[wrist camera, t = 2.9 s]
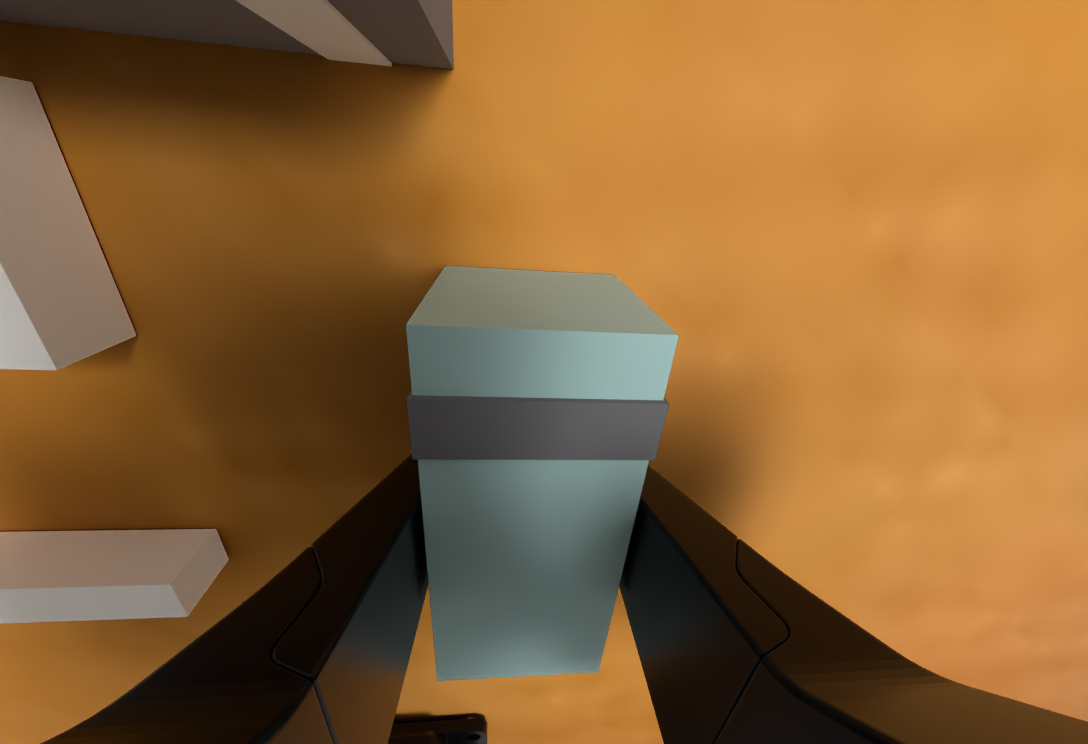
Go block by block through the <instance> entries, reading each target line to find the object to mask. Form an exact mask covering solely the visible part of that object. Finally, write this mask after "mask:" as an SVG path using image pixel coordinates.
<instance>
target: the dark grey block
mask: <svg viewBox="0 0 1088 744" xmlns="http://www.w3.org/2000/svg"><path fill="white" fill-rule="evenodd" d="M0 21H9V22H18V23H27V24H37V25H46V26H55V27H65V28H74V29H83V30H92V31H102V32H111V33H120V34H130V35H139V36H148V37H158V38H167V39H176V40H186V41H195V42H204V43H213V44H223V45H232V46H241V47H251V48H260V49H269V50H279V51H288V52H297V53H306V54H316V55H322V56H323V57H325V58H326V59H328V60H336V61H346V62H355V63H365V64H374V65H383V66H392V63H399V64H409V65H418V66H427V67H437V68H446V69H454V63H453V21H452V0H0Z"/></svg>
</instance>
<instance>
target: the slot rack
mask: <svg viewBox="0 0 1088 744" xmlns="http://www.w3.org/2000/svg"><path fill="white" fill-rule="evenodd" d="M135 336H137V335H136V333H135V330H134V328H133V325H132V323H131V321H130V318H129V316H128V313H127V311H126V308H125V306H124V304H123V301H122V299H121V296H120V294H119V291H118V289H117V287H116V284H115V282H114V279H113V277H112V274H111V272H110V270H109V267H108V265H107V262H106V260H105V257H104V255H103V253H102V250H101V248H100V245H99V243H98V241H97V238H96V236H95V233H94V231H93V228H92V226H91V224H90V221H89V219H88V216H87V214H86V211H85V209H84V207H83V204H82V202H81V199H80V197H79V194H78V192H77V190H76V187H75V185H74V182H73V180H72V177H71V175H70V173H69V170H68V168H67V165H66V163H65V160H64V158H63V156H62V153H61V151H60V148H59V146H58V143H57V141H56V139H55V136H54V134H53V131H52V129H51V126H50V124H49V122H48V119H47V117H46V114H45V112H44V109H43V107H42V105H41V102H40V100H39V97H38V95H37V92H36V90H35V88H34V85H33V83H32V82H29V81H23V80H18V79H13V78H8V77H3V76H0V369H19V370H59V369H62V368H64V367H66V366H68V365H71V364H73V363H75V362H78V361H80V360H82V359H84V358H87V357H89V356H91V355H94V354H96V353H98V352H101V351H103V350H105V349H107V348H110V347H112V346H114V345H117V344H119V343H121V342H123V341H126V340H128V339H130V338H133V337H135ZM228 560H229V558H228V556H227V554H226V551H225V549H224V546H223V544H222V541H221V539H220V537H219V534H218V532H217V529H168V530H96V531H24V532H0V624H3V623H31V622H59V621H87V620H115V619H143V618H171V617H188V616H189V614H190V613H191V612H192V610H193V609H194V607H195V606H196V605H197V603H198V602H199V601H200V599H201V598H202V596H203V595H204V594H205V592H206V591H207V589H208V588H209V587H210V585H211V584H212V582H213V581H214V580H215V578H216V577H217V576H218V574H219V573H220V571H221V570H222V569H223V567H224V566H225V564H226V563H227V562H228Z"/></svg>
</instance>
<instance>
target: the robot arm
mask: <svg viewBox="0 0 1088 744" xmlns="http://www.w3.org/2000/svg"><path fill="white" fill-rule="evenodd" d="M428 583H429V582H428V571H427V559H426V548H425V536H424V525H423V514H422V502H421V491H420V479H419V468H418V459H412V454H411V455H410V456H409V457H408V458H407V459H406V460H404V461H403V462H402V463H401V464H400V465H399V466H398V467H397V468H396V469H394V470H393V471H392V472H391V473H390V474H389V475H388V476H387V477H386V478H385V479H383V480H382V481H381V482H380V483H379V484H378V485H377V486H376V487H375V488H373V489H372V490H371V491H370V492H369V493H368V494H367V495H366V496H365V497H363V498H362V499H361V500H360V501H359V502H358V503H357V504H356V505H355V506H353V507H352V508H351V509H350V510H349V511H348V512H347V513H346V514H345V515H343V516H342V517H341V518H340V519H339V520H338V521H337V522H336V523H335V524H333V525H332V526H331V527H330V528H329V529H328V530H327V531H326V532H325V533H323V534H322V535H321V536H320V537H319V538H318V539H317V540H316V541H315V542H314V543H312V547H308V548H307V549H306V550H304V551H303V552H302V553H301V554H300V555H299V556H298V557H297V558H296V559H294V560H293V561H292V562H291V563H290V564H289V565H288V566H286V567H285V568H284V569H283V570H282V571H281V572H279V573H278V574H277V575H276V576H275V577H274V578H273V579H271V580H270V581H269V582H268V583H267V584H266V585H264V586H263V587H262V588H261V589H259V590H258V591H257V592H256V593H254V594H253V595H252V596H251V597H249V598H248V599H247V600H246V601H244V602H243V603H242V604H241V605H239V606H238V607H237V608H236V609H234V610H233V611H232V612H231V613H229V614H228V615H227V616H226V617H224V618H223V619H222V620H220V621H219V622H218V623H216V624H215V625H214V626H213V627H211V628H210V629H209V630H207V631H206V632H205V633H204V634H202V635H201V636H200V637H198V638H197V639H196V640H194V641H193V642H192V643H191V644H189V645H188V646H187V647H185V648H184V649H183V650H181V651H180V652H179V653H178V654H176V655H175V656H174V657H172V658H171V659H170V660H168V661H167V662H166V663H165V664H163V665H162V666H161V667H159V668H158V669H157V670H156V671H154V672H153V673H152V674H150V675H149V676H148V677H146V678H145V679H144V680H143V681H141V682H140V683H139V684H137V685H136V686H135V687H133V688H132V689H131V690H129V691H128V692H127V693H125V694H124V695H123V696H121V697H120V698H118V699H117V700H116V701H114V702H113V703H111V704H110V705H108V706H107V707H105V708H104V709H102V710H101V711H99V712H98V713H96V714H95V715H93V716H92V717H90V718H88V719H87V720H85V721H83V722H81V723H80V724H78V725H76V726H74V727H73V728H71V729H69V730H67V731H65V732H63V733H61V734H59V735H57V736H55V737H53V738H51V739H49V740H47V741H45V742H43V743H40V744H487V722H486V721H485V720H483V719H476V718H474V719H459V720H444V721H428V722H413V723H398V724H393V721H394V717H395V713H396V709H397V705H398V701H399V697H400V693H401V689H402V685H403V682H404V678H405V674H406V670H407V666H408V662H409V658H410V654H411V650H412V646H413V642H414V638H415V634H416V631H417V627H418V623H419V619H420V615H421V611H422V607H423V603H424V599H425V595H426V591H427V587H428ZM619 587H620V590H621V594H622V597H623V601H624V604H625V608H626V611H627V615H628V618H629V622H630V625H631V629H632V633H633V636H634V640H635V643H636V647H637V650H638V654H639V657H640V661H641V664H642V668H643V671H644V675H645V678H646V682H647V685H648V689H649V693H650V696H651V700H652V703H653V707H654V710H655V714H656V717H657V721H658V724H659V728H660V731H661V735H662V738H663V742H664V744H1088V722H1087V721H1083V720H1080V719H1076V718H1073V717H1070V716H1066V715H1063V714H1060V713H1056V712H1053V711H1050V710H1046V709H1043V708H1040V707H1036V706H1033V705H1030V704H1026V703H1023V702H1020V701H1016V700H1013V699H1009V698H1006V697H1003V696H999V695H996V694H993V693H989V692H986V691H983V690H979V689H976V688H973V687H969V686H966V685H963V684H960V683H957V682H954V681H952V680H949V679H947V678H944V677H942V676H939V675H937V674H935V673H933V672H931V671H929V670H927V669H925V668H923V667H921V666H919V665H917V664H916V663H914V662H912V661H910V660H909V659H907V658H905V657H904V656H902V655H901V654H899V653H898V652H896V651H895V650H893V649H891V648H890V647H889V646H887V645H886V644H884V643H883V642H881V641H880V640H879V639H877V638H876V637H874V636H873V635H871V634H870V633H869V632H867V631H866V630H864V629H863V628H861V627H860V626H858V625H857V624H856V623H854V622H853V621H851V620H850V619H848V618H847V617H846V616H844V615H843V614H841V613H840V612H838V611H837V610H835V609H834V608H833V607H831V606H830V605H828V604H827V603H825V602H824V601H823V600H821V599H820V598H818V597H817V596H815V595H814V594H813V593H811V592H810V591H808V590H807V589H806V588H804V587H803V586H801V585H800V584H799V583H797V582H796V581H794V580H793V579H792V578H790V577H789V576H787V575H786V574H785V573H783V572H782V571H781V570H779V569H778V568H777V567H775V566H774V565H773V564H772V563H770V562H769V561H768V560H766V559H765V558H764V557H763V556H761V555H760V554H759V553H757V552H756V551H755V550H754V549H752V548H751V547H750V546H749V545H747V544H746V543H745V542H744V541H742V540H741V539H738V540H737V536H736V535H735V534H733V533H732V532H731V531H730V530H728V529H727V528H726V527H725V526H723V525H722V524H721V523H720V522H718V521H717V520H716V519H715V518H713V517H712V516H711V515H710V514H708V513H707V512H706V511H705V510H703V509H702V508H701V507H700V506H698V505H697V504H696V503H695V502H693V501H692V500H691V499H690V498H688V497H687V496H686V495H685V494H683V493H682V492H681V491H680V490H678V489H677V488H676V487H675V486H673V485H672V484H671V483H670V482H668V481H667V480H666V479H665V478H663V477H662V476H661V475H660V474H658V473H657V472H656V471H655V470H653V469H652V468H651V467H650V466H647V471H646V475H645V479H644V483H643V487H642V491H641V496H640V500H639V504H638V508H637V512H636V517H635V521H634V525H633V529H632V533H631V538H630V542H629V546H628V550H627V554H626V558H625V563H624V567H623V571H622V575H621V579H620V584H619Z"/></svg>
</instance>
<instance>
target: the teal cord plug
mask: <svg viewBox="0 0 1088 744" xmlns="http://www.w3.org/2000/svg"><path fill="white" fill-rule="evenodd" d="M406 331H407V343H408V354H409V366H410V377H411V390H410V392H409V395H408V397H407V409H408V419H409V430H410V440H411V451H412V459H418V468H419V479H420V491H421V502H422V514H423V525H424V536H425V548H426V559H427V571H428V582H429V593H430V605H431V616H432V627H433V639H434V650H435V662H436V673H437V681H445V680H463V679H481V678H499V677H518V676H536V675H554V674H572V673H590V672H599V667H600V663H601V659H602V655H603V651H604V646H605V642H606V638H607V634H608V630H609V625H610V621H611V617H612V613H613V609H614V605H615V600H616V596H617V592H618V588H619V584H620V579H621V575H622V571H623V567H624V563H625V558H626V554H627V550H628V546H629V542H630V538H631V533H632V529H633V525H634V521H635V517H636V512H637V508H638V504H639V500H640V496H641V491H642V487H643V483H644V479H645V475H646V471H647V466H648V462H649V460H655V459H656V455H657V451H658V447H659V443H660V439H661V435H662V431H663V427H664V423H665V419H666V415H667V411H668V407H669V403H668V402H667V400H666V399H665V397H664V395H665V391H666V387H667V383H668V378H669V374H670V370H671V366H672V362H673V358H674V353H675V349H676V345H677V341H678V337H679V335H678V334H677V333H676V332H675V331H674V330H673V329H672V328H671V327H670V326H669V325H667V324H666V323H665V322H664V321H663V320H662V319H661V318H660V317H659V316H658V315H657V314H656V313H655V312H654V311H653V310H651V309H650V308H649V307H648V306H647V305H646V304H645V303H644V302H643V301H642V300H641V299H640V298H639V297H638V296H637V295H635V294H634V293H633V292H632V291H631V290H630V289H629V288H628V287H627V286H626V285H625V284H624V283H623V282H622V281H621V280H620V279H618V278H617V277H616V276H615V275H608V274H590V273H571V272H553V271H535V270H517V269H499V268H480V267H462V266H445V267H444V269H443V270H442V272H441V273H440V275H439V276H438V278H437V279H436V281H435V282H434V284H433V285H432V287H431V288H430V290H429V291H428V292H427V294H426V295H425V297H424V298H423V300H422V301H421V303H420V304H419V306H418V307H417V309H416V310H415V312H414V313H413V315H412V316H411V318H410V319H409V321H408V322H407V324H406Z"/></svg>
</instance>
